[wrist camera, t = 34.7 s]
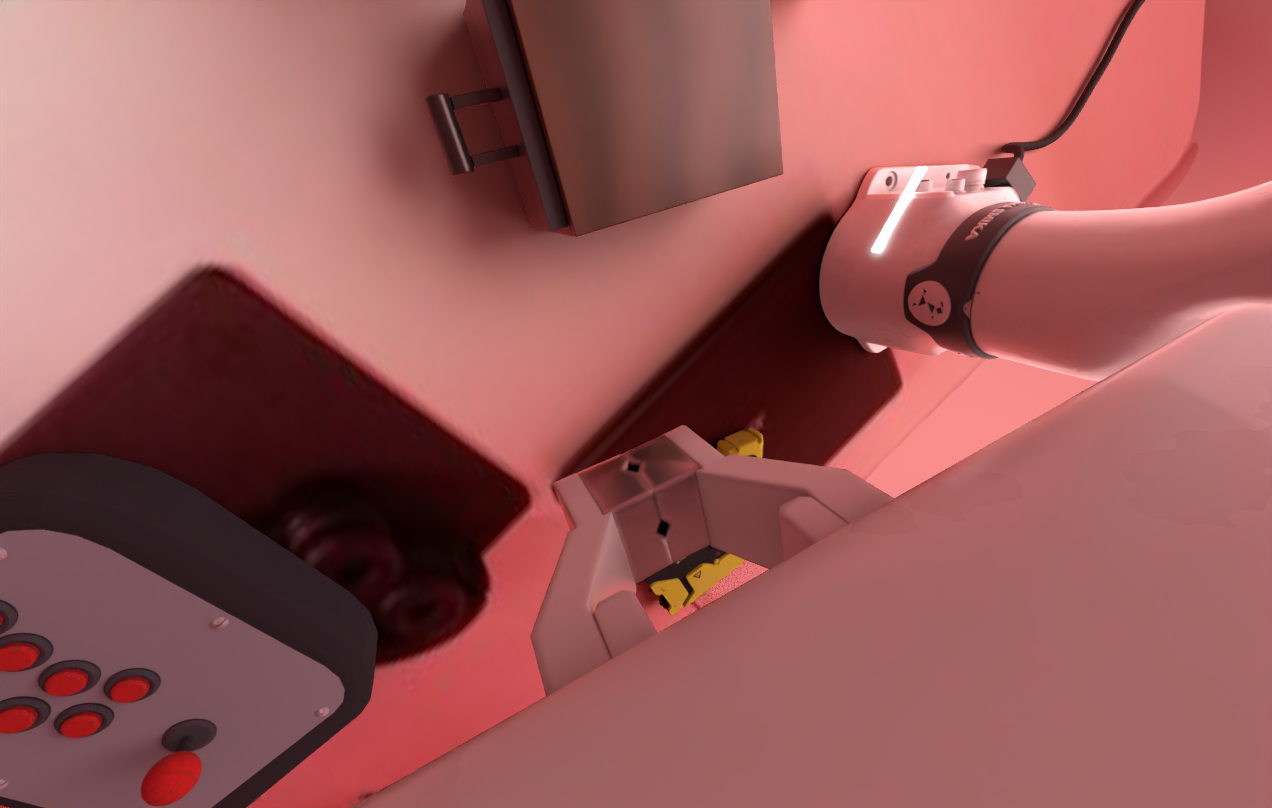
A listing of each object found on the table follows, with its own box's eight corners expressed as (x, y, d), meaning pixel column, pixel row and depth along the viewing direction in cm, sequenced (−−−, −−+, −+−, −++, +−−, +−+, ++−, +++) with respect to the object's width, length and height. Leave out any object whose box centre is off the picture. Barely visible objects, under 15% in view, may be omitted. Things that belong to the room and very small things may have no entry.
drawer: (473, 244, 33) (483, 251, 28) (390, 25, 27) (385, -16, 22) (704, 177, 38) (747, 173, 33) (675, -21, 32) (722, -62, 27)
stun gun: (610, 539, 45) (672, 622, 52) (769, 423, 47) (806, 518, 55) (600, 522, 47) (660, 603, 55) (751, 413, 50) (789, 505, 57)
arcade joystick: (413, 630, 43) (412, 735, 34) (219, 778, 40) (167, 930, 32) (82, 407, 28) (-61, 492, 20) (-248, 617, 26) (-570, 817, 18)
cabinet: (546, 231, 35) (575, 237, 29) (477, 3, 29) (495, -55, 23) (723, 179, 39) (783, 173, 33) (696, -31, 33) (764, -89, 27)
